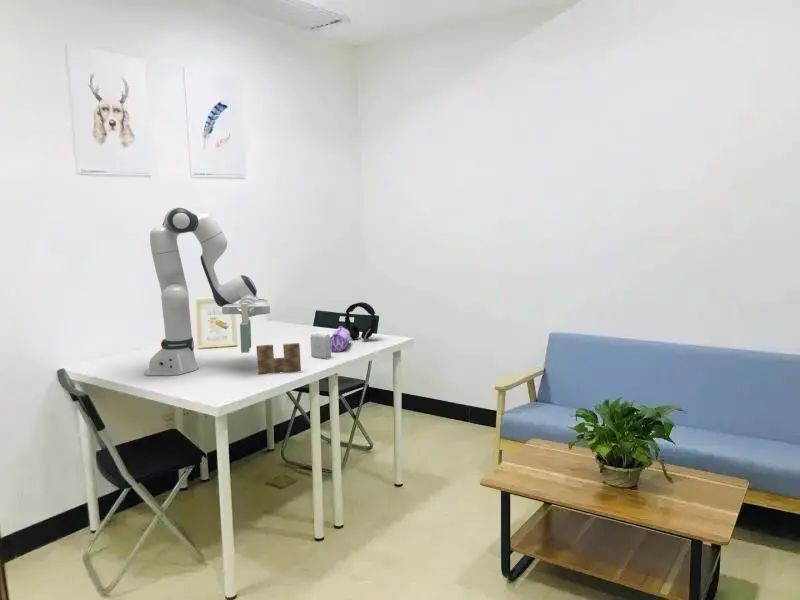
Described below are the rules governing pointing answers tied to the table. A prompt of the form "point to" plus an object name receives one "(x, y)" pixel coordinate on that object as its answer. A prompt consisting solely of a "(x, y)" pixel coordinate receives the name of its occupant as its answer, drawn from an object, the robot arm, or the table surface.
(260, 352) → the walnut slotted board
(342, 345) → the pencil case
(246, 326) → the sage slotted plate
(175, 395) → the table surface
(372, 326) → the headphones
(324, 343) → the photo printer
